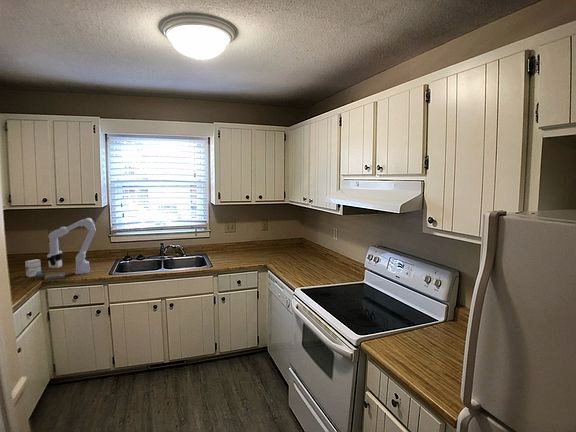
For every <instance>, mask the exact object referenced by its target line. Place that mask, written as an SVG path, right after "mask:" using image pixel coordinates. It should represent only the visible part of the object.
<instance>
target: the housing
mask: <svg viewBox="0 0 576 432" xmlns="http://www.w3.org/2000/svg"><path fill="white" fill-rule="evenodd" d="M62 266H63V260H62V259H60V260H55V265H54V266H51V263H50V261H49V260H48V268H49V269H50V268H54V269H55V268H57V269H58V268H61V267H62Z"/></svg>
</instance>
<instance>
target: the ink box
mask: <svg viewBox="0 0 576 432" xmlns="http://www.w3.org/2000/svg"><path fill="white" fill-rule="evenodd" d="M24 265H25V274H26V275H25V276H26V277H28V278H32V277H35V276H40V275H42V265H41V259H31V260H25V264H24Z"/></svg>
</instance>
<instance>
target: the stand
mask: <svg viewBox="0 0 576 432" xmlns="http://www.w3.org/2000/svg"><path fill="white" fill-rule="evenodd" d="M65 275H66V272H57V273H56V272H55V273H48V274H45V276H44V277H43V278H44V281H53V280H61V279H64V278H65V277H66V276H65Z"/></svg>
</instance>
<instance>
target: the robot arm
mask: <svg viewBox="0 0 576 432" xmlns="http://www.w3.org/2000/svg"><path fill="white" fill-rule="evenodd" d="M78 227H85V229H86V230H87V234H86V237H85V240H84V241H83V243H82V245H81V247H80V250H79V252H78V253H77V254H76V256H75V258H74V259H75V273H74V274H75V275H81V274H82V275H83V274H89V273H90V271H91V268H90V261H88V260H86V258H87V255H86V253H87V251H88V249H89V247H90V244H91V242H92V240H93V238H94V235H95V233H96V231H97V229H96V225H95V221H94V220H93V219H92V218H91V217H87V218H84V219H81V220H78V221H76V222H74V223H72V224H70V225H68V226H60V228H57V229H55V230H53V231H51V232H50V233H48V235H47V236H48V240H49V253H48V254H47V255H46V258H47V260H48V261H50V263H51V266H54V265H55V260H62V256H63V250H60V246H59V238H61V237H63V236H65V235H67V234H68V233H69V232H70V231H71V230H73V229H75V228H78Z"/></svg>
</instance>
